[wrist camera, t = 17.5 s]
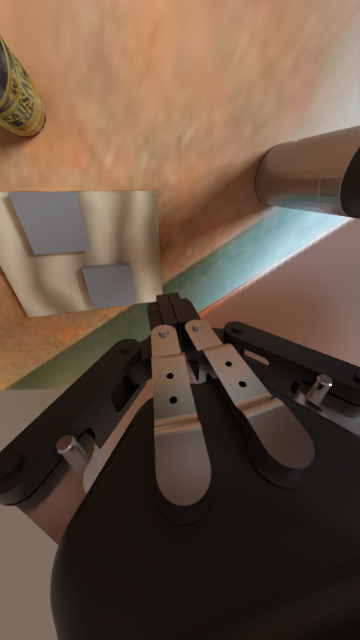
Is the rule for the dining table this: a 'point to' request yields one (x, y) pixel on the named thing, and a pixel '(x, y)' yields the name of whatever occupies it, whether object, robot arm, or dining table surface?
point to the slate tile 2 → (109, 285)
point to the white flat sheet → (84, 252)
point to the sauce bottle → (18, 97)
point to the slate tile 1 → (51, 221)
